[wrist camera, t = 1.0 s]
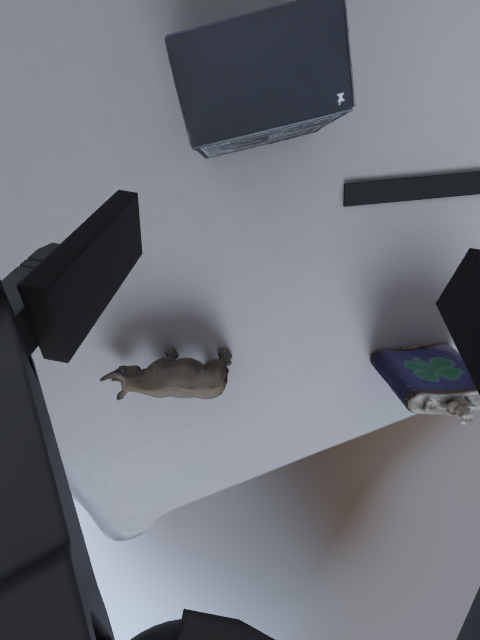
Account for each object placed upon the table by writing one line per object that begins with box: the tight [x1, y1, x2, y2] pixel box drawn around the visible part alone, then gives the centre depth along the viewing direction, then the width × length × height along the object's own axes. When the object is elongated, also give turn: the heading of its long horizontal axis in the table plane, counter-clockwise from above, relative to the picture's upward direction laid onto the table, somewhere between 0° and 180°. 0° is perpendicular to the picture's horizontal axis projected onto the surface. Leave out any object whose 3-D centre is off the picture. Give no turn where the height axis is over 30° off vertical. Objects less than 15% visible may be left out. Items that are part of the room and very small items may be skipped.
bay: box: [344, 171, 480, 206], centre depth 30 cm, size 18×16×1 cm
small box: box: [165, 0, 355, 158], centre depth 25 cm, size 11×6×10 cm, turn 103°
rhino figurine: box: [100, 348, 232, 400], centre depth 37 cm, size 4×14×6 cm, turn 91°
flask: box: [370, 343, 480, 425], centre depth 35 cm, size 9×3×11 cm, turn 95°
